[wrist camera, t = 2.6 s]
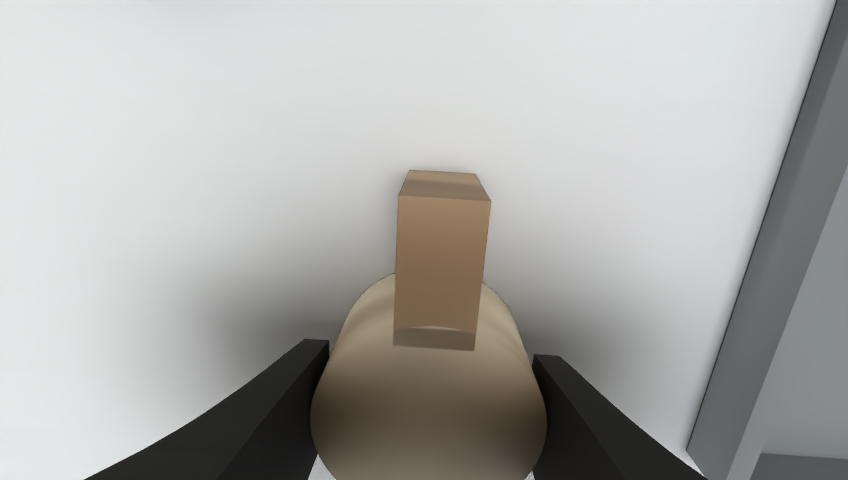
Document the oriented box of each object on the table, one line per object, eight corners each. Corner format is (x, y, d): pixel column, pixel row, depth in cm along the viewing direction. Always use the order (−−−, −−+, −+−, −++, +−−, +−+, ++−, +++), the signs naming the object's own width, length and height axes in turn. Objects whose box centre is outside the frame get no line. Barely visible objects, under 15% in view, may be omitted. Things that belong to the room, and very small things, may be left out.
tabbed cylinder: (507, 425, 12) (528, 524, 9) (342, 414, 12) (313, 508, 9) (545, 178, 10) (590, 207, 7) (340, 165, 10) (300, 189, 7)
